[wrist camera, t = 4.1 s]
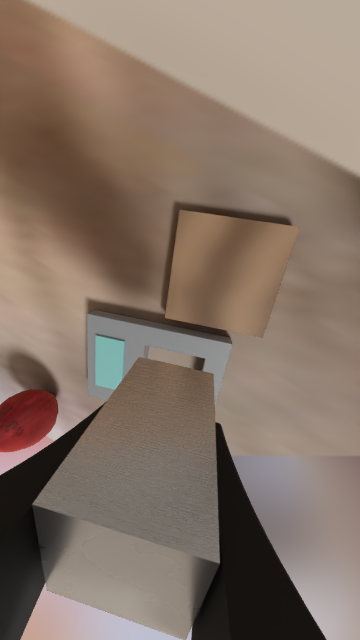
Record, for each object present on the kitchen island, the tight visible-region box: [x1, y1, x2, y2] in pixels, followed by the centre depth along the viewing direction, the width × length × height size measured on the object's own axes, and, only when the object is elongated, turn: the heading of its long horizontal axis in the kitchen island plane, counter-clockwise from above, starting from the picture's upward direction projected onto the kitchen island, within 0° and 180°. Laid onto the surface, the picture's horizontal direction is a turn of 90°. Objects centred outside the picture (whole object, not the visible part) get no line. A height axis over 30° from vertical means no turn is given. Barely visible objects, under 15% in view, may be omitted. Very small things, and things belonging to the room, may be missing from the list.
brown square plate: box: [165, 210, 300, 338], centre depth 16 cm, size 9×9×1 cm
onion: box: [0, 389, 58, 452], centre depth 21 cm, size 6×6×8 cm
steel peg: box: [32, 357, 220, 640], centre depth 8 cm, size 4×4×7 cm
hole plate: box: [87, 310, 232, 404], centre depth 20 cm, size 14×10×2 cm
